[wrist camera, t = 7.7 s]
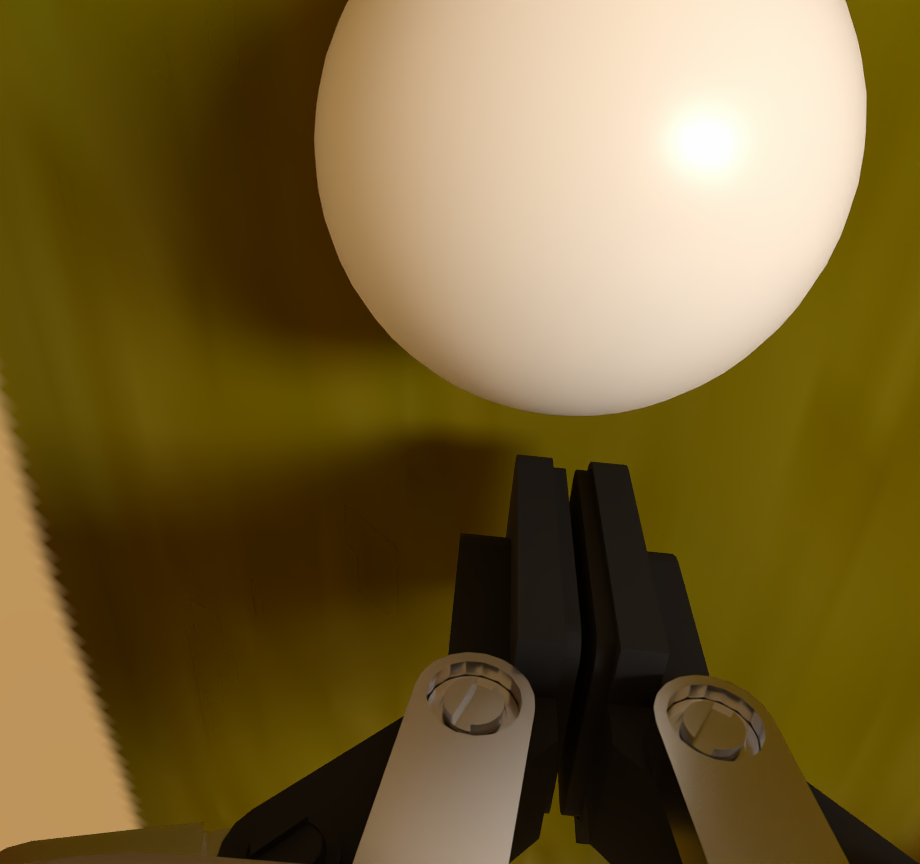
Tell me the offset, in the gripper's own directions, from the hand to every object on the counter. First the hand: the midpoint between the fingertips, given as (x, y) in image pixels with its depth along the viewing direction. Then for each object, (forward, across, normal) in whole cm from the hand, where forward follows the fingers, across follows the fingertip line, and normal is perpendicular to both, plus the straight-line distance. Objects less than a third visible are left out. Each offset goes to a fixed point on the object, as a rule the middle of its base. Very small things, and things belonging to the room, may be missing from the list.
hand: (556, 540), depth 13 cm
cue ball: (-1, +1, -6) cm, 6 cm away
